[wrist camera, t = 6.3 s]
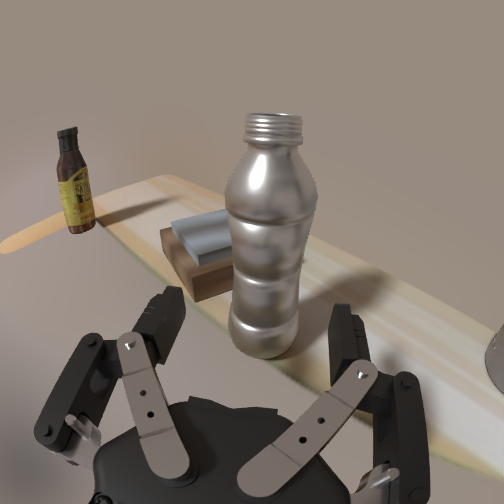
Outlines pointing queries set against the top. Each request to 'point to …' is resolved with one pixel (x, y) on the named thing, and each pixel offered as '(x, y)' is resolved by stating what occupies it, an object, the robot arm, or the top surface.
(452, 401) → the top surface
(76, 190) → the sauce bottle
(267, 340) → the silver bottle
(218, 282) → the plinth
